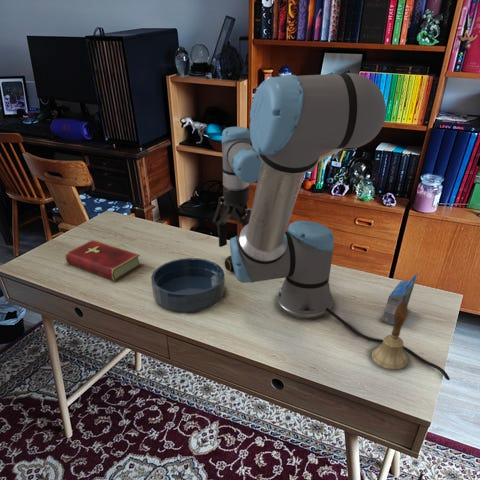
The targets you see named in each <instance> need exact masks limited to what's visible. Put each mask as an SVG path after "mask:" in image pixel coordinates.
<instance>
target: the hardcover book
mask: <svg viewBox="0 0 480 480" xmlns="http://www.w3.org/2000/svg"><path fill="white" fill-rule="evenodd" d="M64 257H65V261H66V263H67V264H68V265H70V266H73V267H75V268H78V269H80V270H83V271H86V272H88V273H90V274H94V275H97V276H98V277H99V276H100V277H102V278H105V279H108V280H110V281H113V282H117V281H118V280H120V279H122V278H124V277H125V276H127V275H128V274H130V273H132V272H133V271H135V270H137V269H138V268H140V267H141V266H142V264H140V262H139V261H140V260H139V257H140V254H138V253H135V252H132V251H129V250H126V249H123V248H120V247H117V246H113V245H111V244H107V243H105V242H101V241H99V240H95V239H91V240H89V241H87V242H85V243H83V244H81V245H79V246H77V247H75V248H73V249H71V250H68V251H67V252H65V254H64Z"/></svg>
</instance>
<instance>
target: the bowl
mask: <svg viewBox="0 0 480 480" xmlns="http://www.w3.org/2000/svg"><path fill="white" fill-rule="evenodd" d="M150 279H151V288H152V294H153V298H154V300H155V302H156V303H158V305H160V306H162V307H163V308H164V309H166V310H169V311H171V312H178V313H195V312H200V311H204V310H207V309H210V308H212V307H214V306H215V305H217V304H218V303H219V302H220V301H221V300H222V299H223V297H224V295H225V292H226V279H225V271H224V269H223V268H222V267H221V265H219V264H217V263H216V262H214V261H212V260H208V259H204V258H198V257H197V258H193V257H187V258H178V259H174V260H171V261H168V262H165V263H163V264H161V265H159V266H158V267H157V268H155V270H154V271H153V272H152V274H151V276H150Z"/></svg>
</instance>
